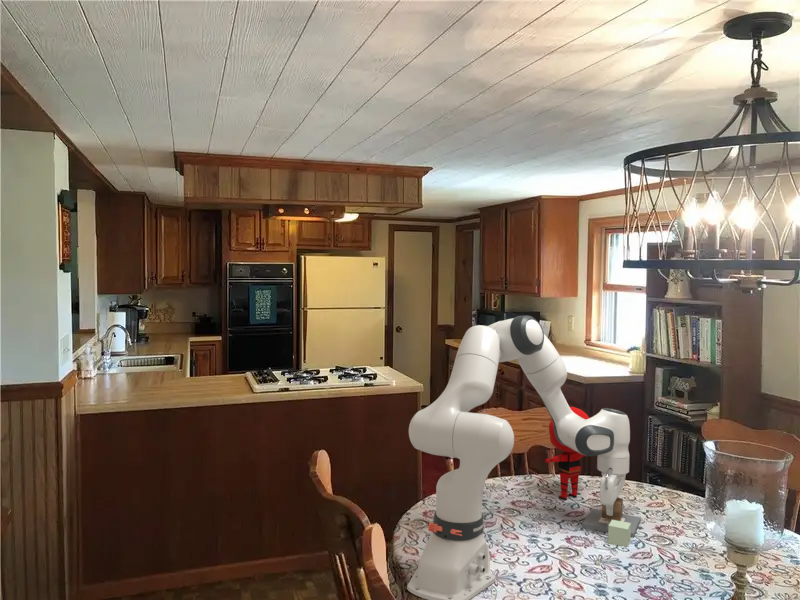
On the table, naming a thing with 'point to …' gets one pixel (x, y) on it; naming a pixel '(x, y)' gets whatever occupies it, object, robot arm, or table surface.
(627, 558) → the table surface
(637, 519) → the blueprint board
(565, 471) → the toy
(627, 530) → the sage block
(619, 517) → the walnut block
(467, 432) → the robot arm
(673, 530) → the table surface
